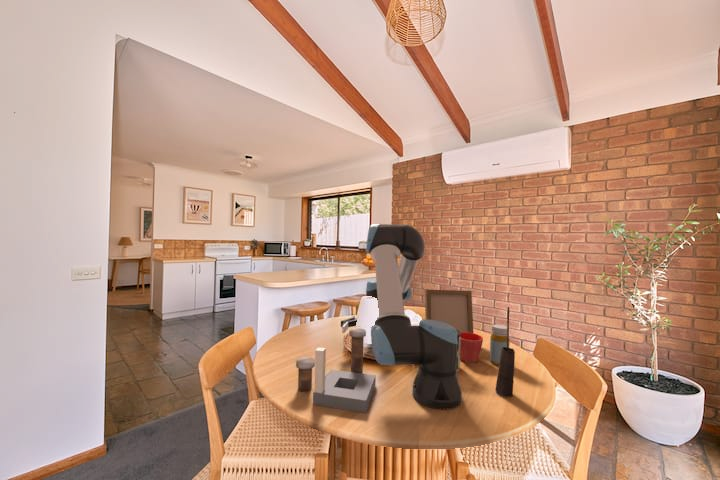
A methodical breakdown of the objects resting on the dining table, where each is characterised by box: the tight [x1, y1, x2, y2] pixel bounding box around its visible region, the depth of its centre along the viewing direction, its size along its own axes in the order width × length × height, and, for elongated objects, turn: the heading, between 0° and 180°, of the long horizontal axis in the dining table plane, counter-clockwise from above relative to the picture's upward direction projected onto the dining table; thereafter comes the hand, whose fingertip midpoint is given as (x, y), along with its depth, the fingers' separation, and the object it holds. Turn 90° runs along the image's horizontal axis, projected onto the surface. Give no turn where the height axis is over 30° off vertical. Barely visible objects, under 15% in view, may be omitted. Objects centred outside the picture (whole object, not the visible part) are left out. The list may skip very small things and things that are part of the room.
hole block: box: [312, 347, 377, 414], centre depth 94 cm, size 16×16×16 cm
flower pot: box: [460, 332, 484, 364], centre depth 124 cm, size 11×11×10 cm
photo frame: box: [424, 289, 474, 333], centre depth 147 cm, size 15×22×25 cm
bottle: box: [489, 323, 510, 367], centre depth 121 cm, size 7×7×15 cm
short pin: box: [295, 356, 315, 393], centre depth 97 cm, size 6×6×9 cm
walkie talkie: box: [495, 306, 516, 398], centre depth 96 cm, size 9×10×28 cm
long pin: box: [348, 327, 367, 374], centre depth 107 cm, size 6×6×16 cm
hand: (359, 331), depth 118 cm, fingers open, 13 cm apart
